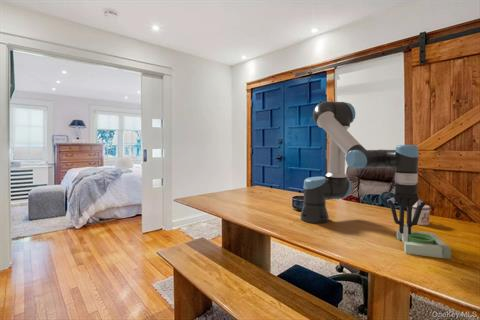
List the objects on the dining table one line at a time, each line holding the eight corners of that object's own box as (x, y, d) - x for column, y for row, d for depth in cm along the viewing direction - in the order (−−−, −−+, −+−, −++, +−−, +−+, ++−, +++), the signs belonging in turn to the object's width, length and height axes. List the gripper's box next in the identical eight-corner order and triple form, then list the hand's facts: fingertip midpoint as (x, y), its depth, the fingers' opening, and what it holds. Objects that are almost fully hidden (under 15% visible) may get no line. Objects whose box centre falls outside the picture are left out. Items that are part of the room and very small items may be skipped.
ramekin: (434, 253, 93) (435, 242, 93) (405, 248, 98) (406, 237, 98) (434, 246, 100) (434, 235, 100) (407, 241, 105) (407, 230, 105)
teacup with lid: (425, 226, 124) (425, 203, 123) (405, 222, 131) (405, 200, 131) (435, 222, 130) (436, 200, 130) (415, 218, 138) (416, 197, 137)
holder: (405, 253, 93) (405, 244, 93) (396, 237, 110) (396, 229, 110) (450, 259, 88) (451, 249, 88) (433, 241, 105) (434, 233, 105)
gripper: (389, 184, 99) (387, 242, 100) (428, 185, 94) (427, 247, 95) (386, 181, 106) (385, 236, 107) (423, 182, 101) (421, 240, 102)
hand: (404, 241), depth 101 cm, fingers closed
